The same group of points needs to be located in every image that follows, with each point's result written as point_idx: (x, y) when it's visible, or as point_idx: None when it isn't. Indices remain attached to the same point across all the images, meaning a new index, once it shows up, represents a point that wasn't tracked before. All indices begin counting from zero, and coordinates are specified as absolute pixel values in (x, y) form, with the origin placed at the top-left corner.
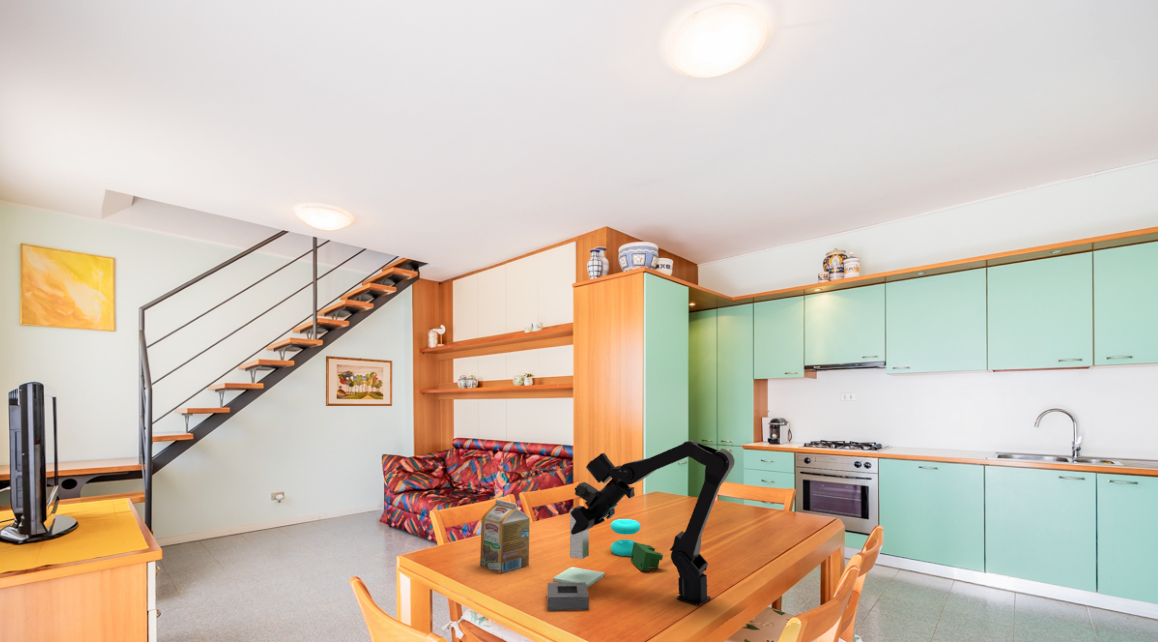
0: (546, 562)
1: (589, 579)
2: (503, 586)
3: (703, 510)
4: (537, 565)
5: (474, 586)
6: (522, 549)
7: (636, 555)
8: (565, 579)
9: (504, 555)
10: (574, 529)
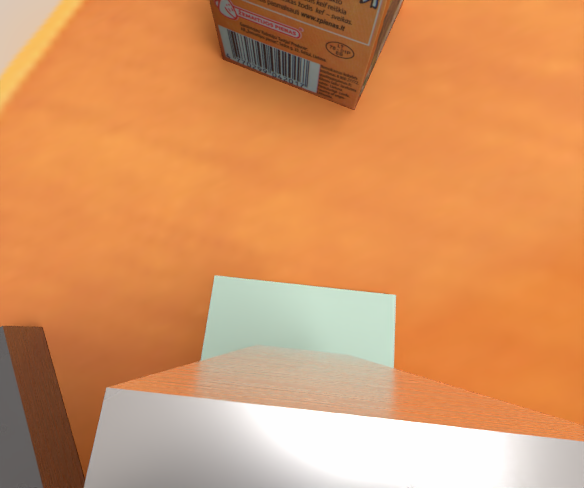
0: (432, 154)
1: None
2: (97, 125)
3: None
4: (377, 137)
5: (71, 40)
6: (329, 36)
7: None
8: (213, 339)
9: (225, 3)
10: None
